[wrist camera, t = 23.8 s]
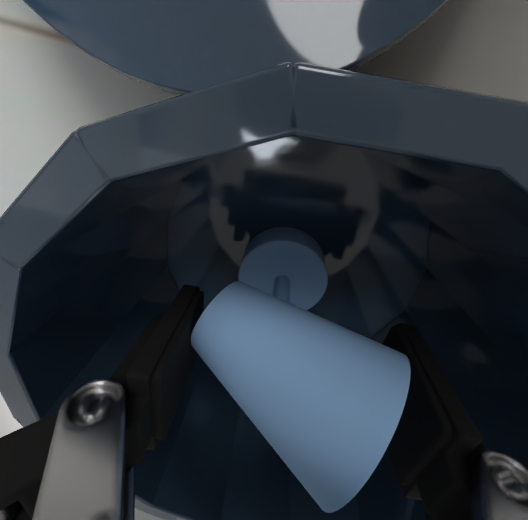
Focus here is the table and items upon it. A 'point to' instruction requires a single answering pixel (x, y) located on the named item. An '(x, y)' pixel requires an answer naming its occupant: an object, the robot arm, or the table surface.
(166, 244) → the pot
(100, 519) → the robot arm
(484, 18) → the table surface
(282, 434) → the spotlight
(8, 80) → the table surface
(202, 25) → the pot lid
